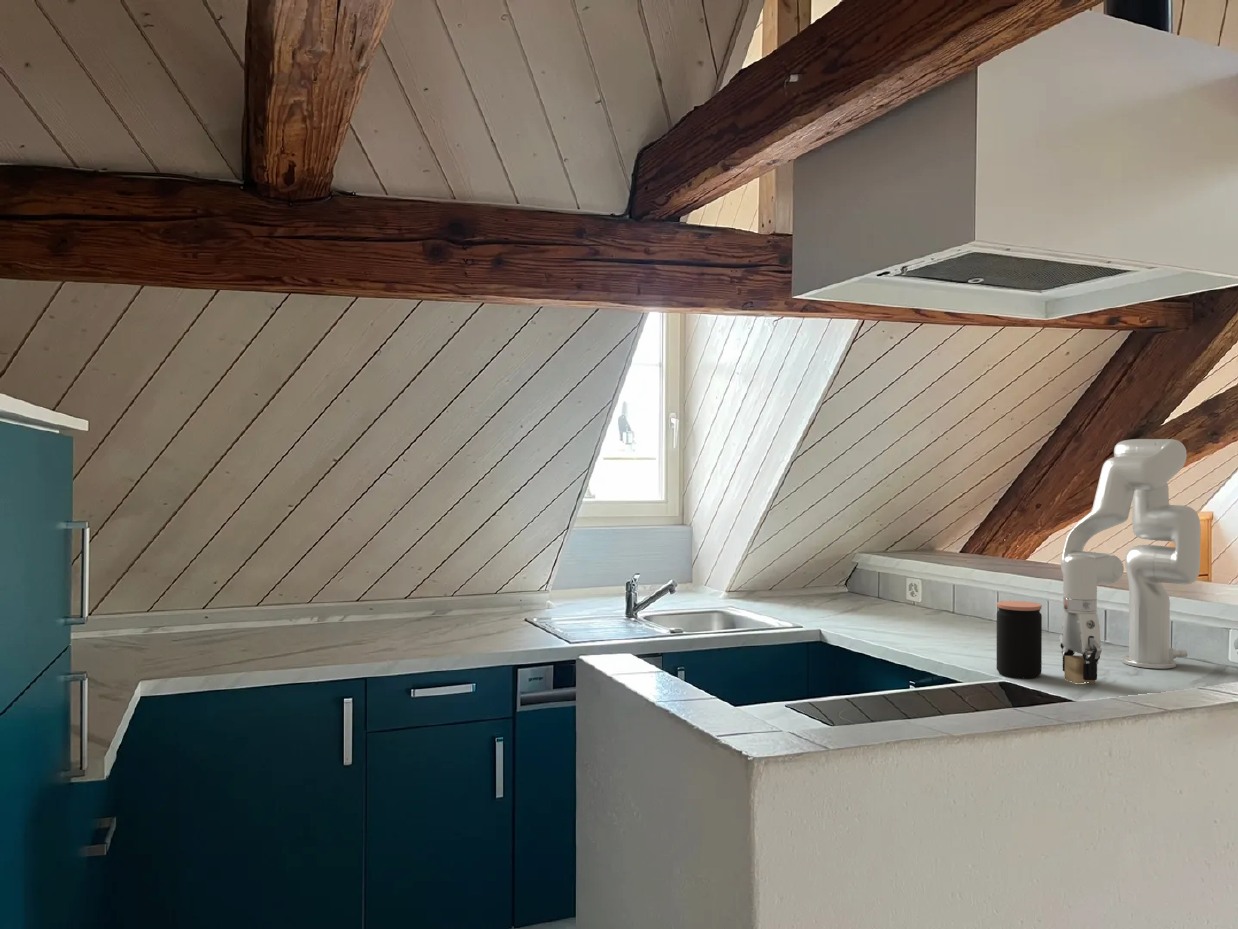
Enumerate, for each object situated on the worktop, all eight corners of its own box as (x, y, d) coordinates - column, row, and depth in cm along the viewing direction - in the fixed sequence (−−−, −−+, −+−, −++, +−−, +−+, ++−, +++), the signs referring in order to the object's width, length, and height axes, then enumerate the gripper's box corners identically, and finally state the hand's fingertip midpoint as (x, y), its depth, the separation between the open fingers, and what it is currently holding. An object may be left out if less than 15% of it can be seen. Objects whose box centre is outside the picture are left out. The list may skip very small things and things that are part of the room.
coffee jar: (1030, 669, 259) (1030, 600, 258) (1049, 679, 248) (1049, 607, 248) (989, 670, 258) (989, 600, 258) (1007, 679, 248) (1007, 607, 247)
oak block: (1083, 679, 248) (1083, 655, 248) (1095, 684, 243) (1095, 659, 243) (1064, 680, 247) (1064, 655, 247) (1075, 684, 242) (1075, 660, 242)
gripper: (1115, 610, 236) (1114, 683, 237) (1075, 600, 254) (1074, 667, 254) (1084, 611, 236) (1084, 684, 236) (1047, 600, 253) (1046, 668, 253)
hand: (1079, 675), depth 245 cm, fingers open, 8 cm apart
